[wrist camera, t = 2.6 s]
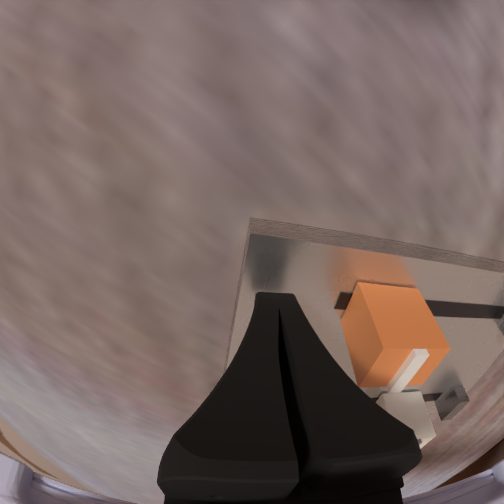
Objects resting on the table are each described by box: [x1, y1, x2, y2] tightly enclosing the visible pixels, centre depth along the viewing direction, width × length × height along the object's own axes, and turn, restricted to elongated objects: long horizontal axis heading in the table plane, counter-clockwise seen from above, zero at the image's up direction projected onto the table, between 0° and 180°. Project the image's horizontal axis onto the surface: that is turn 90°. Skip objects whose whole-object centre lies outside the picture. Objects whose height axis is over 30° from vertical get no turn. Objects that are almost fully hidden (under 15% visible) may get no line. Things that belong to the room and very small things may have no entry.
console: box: [224, 218, 504, 421], centre depth 15 cm, size 18×13×3 cm
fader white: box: [376, 391, 436, 449], centre depth 16 cm, size 3×2×4 cm
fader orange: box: [341, 282, 451, 393], centre depth 11 cm, size 3×2×4 cm
